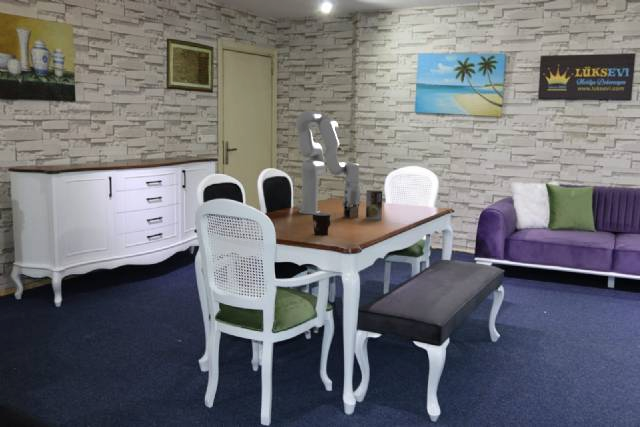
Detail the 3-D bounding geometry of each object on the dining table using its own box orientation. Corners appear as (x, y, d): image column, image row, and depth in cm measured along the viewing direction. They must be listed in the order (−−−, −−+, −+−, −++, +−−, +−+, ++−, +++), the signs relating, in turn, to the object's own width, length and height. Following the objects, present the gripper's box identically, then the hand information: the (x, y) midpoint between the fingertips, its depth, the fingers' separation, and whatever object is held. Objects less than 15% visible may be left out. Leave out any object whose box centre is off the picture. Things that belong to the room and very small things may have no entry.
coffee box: (381, 218, 343) (382, 190, 341) (381, 220, 337) (382, 191, 334) (365, 217, 344) (366, 189, 342) (365, 219, 338) (366, 191, 335)
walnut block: (343, 216, 344) (343, 206, 343) (350, 216, 349) (350, 205, 348) (351, 218, 340) (351, 207, 339) (358, 217, 344) (358, 207, 344)
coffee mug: (311, 232, 290) (311, 212, 289) (328, 233, 291) (329, 212, 289) (313, 237, 279) (313, 216, 277) (331, 237, 279) (332, 216, 278)
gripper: (346, 186, 333) (345, 218, 336) (366, 184, 345) (365, 215, 348) (336, 185, 338) (335, 216, 341) (356, 183, 350) (355, 213, 353)
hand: (350, 215), depth 344 cm, fingers closed on walnut block, 6 cm apart
